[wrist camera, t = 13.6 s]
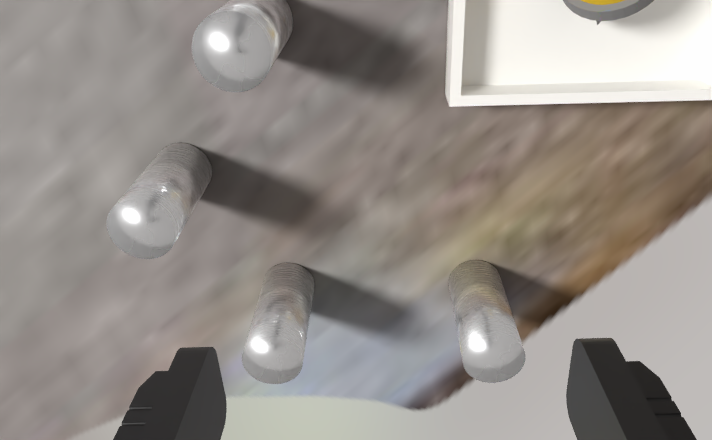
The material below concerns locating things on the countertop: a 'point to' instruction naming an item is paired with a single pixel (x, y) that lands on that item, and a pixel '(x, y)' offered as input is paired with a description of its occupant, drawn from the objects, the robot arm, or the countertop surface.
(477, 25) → the tray
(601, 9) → the stepped yellow cone
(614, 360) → the robot arm
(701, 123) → the countertop surface
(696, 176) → the countertop surface
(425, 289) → the countertop surface
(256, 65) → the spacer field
